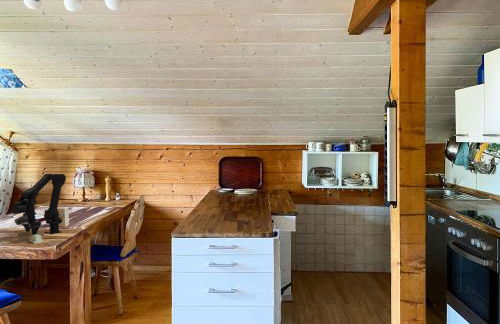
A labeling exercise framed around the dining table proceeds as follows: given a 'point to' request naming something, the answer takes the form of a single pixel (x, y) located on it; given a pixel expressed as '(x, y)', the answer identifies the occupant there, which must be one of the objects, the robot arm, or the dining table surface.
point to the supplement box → (63, 216)
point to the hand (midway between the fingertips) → (30, 236)
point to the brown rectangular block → (28, 235)
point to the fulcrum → (36, 239)
